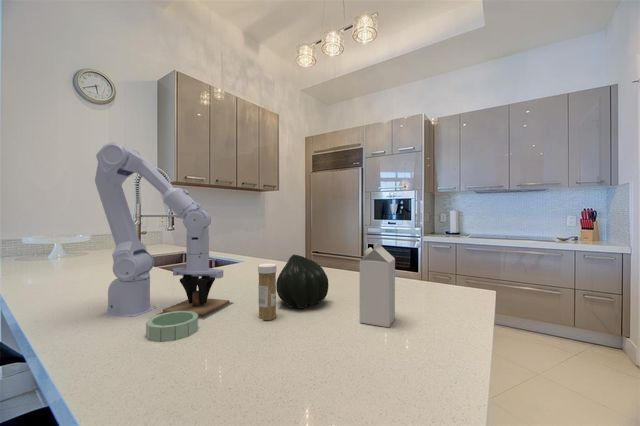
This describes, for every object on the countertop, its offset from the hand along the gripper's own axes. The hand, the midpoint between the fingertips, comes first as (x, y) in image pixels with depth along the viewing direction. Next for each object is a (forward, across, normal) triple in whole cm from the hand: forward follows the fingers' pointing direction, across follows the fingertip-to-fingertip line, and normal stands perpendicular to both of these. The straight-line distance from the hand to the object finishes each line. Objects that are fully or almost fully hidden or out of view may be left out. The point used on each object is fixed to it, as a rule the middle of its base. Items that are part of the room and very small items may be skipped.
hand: (197, 303), depth 81 cm
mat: (+2, 0, 0) cm, 2 cm away
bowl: (+2, -5, +15) cm, 16 cm away
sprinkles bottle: (+2, -21, +1) cm, 21 cm away
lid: (+1, 0, 0) cm, 1 cm away
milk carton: (+2, -48, -4) cm, 48 cm away
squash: (+2, -26, -12) cm, 29 cm away
